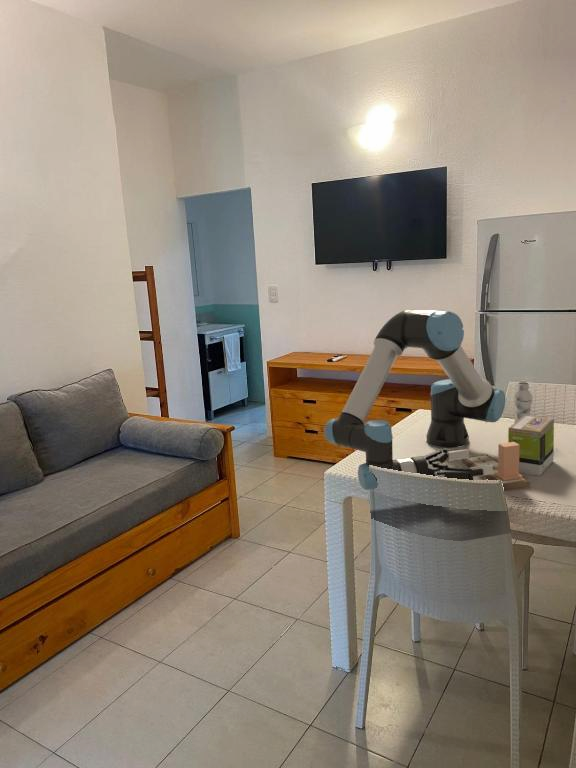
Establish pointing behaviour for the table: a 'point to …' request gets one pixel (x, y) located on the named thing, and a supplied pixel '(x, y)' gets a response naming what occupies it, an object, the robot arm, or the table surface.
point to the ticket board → (488, 460)
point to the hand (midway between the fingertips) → (479, 461)
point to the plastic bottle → (522, 401)
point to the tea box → (533, 443)
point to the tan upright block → (508, 461)
